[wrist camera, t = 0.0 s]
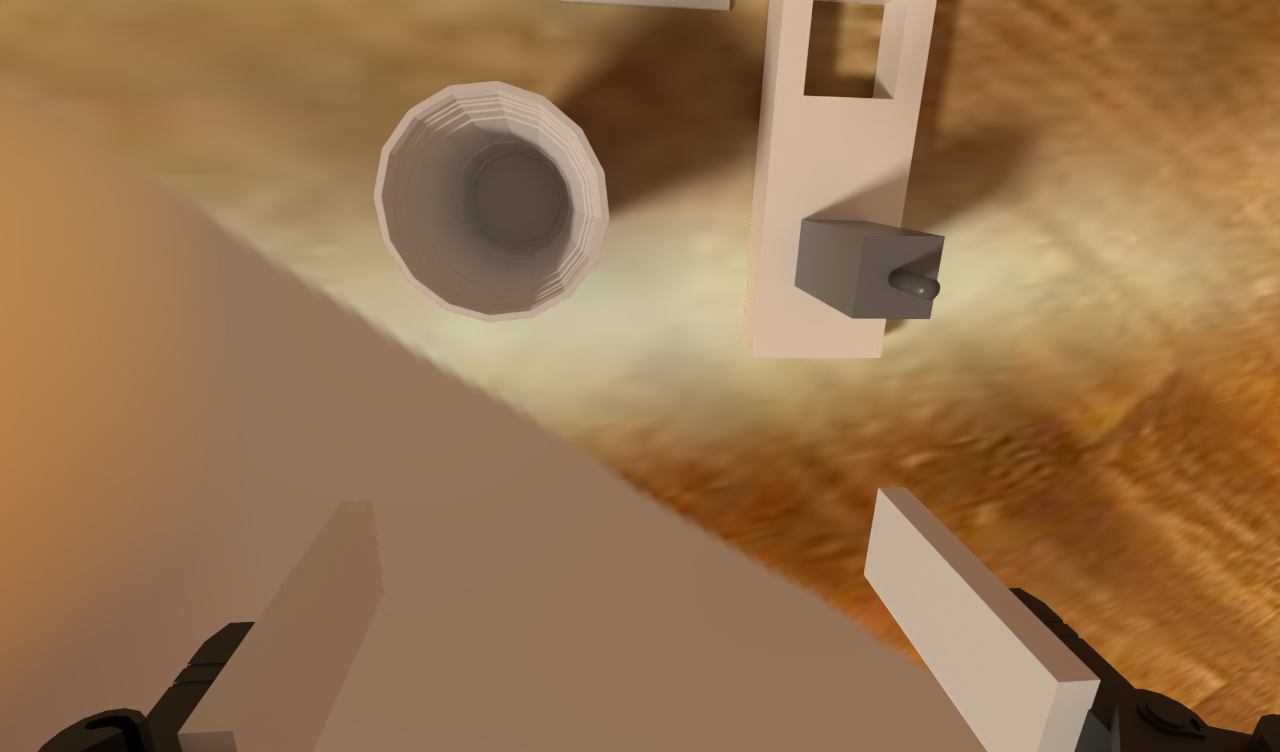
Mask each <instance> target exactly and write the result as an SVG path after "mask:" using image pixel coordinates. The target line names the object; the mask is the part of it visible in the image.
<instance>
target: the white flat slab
mask: <svg viewBox="0 0 1280 752" xmlns="http://www.w3.org/2000/svg"><path fill="white" fill-rule="evenodd" d="M561 2H565V3H584V4H602V5H621V6H639V7H658V8H677V9H695V10H714V11H728V10H729V6H730V0H561Z"/></svg>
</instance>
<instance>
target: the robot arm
mask: <svg viewBox="0 0 1280 752" xmlns="http://www.w3.org/2000/svg"><path fill="white" fill-rule="evenodd" d="M864 575H865V577H866V578H867V580H868V581H869V583H870V584H871V585H872V587H873V588H874V590H875V591H876V593H877V594H878V595H879V597H880V598H881V600H882V601H883V603H884V604H885V606H886V607H887V608H888V610H889V611H890V613H891V614H892V616H893V617H894V618H895V620H896V621H897V623H898V624H899V626H900V627H901V628H902V630H903V631H904V633H905V634H906V636H907V637H908V639H909V640H910V641H911V643H912V644H913V646H914V647H915V649H916V650H917V651H918V653H919V654H920V656H921V657H922V659H923V660H924V661H925V663H926V664H927V666H928V667H929V669H930V670H931V671H932V673H933V674H934V676H935V677H936V679H937V680H938V682H939V683H940V684H941V686H942V687H943V689H944V690H945V691H946V693H947V694H948V696H949V697H950V699H951V700H952V702H953V703H954V704H955V706H956V707H957V709H958V710H959V712H960V713H961V714H962V716H963V717H964V719H965V720H966V722H967V723H968V724H969V726H970V727H971V729H972V730H973V732H974V733H975V735H976V736H977V737H978V739H979V740H980V742H981V743H982V744H983V746H984V747H985V749H986V750H987V752H1280V715H1276V714H1270V715H1265V716H1261V718H1260V720H1259V722H1258V724H1257V726H1256V728H1255V730H1254V732H1253V735H1251V734H1246V733H1241V732H1236V731H1230V730H1225V729H1220V728H1215V727H1210V726H1208V725H1207V724H1206V723H1205V722H1204V721H1203V720H1202V719H1201V718H1200V717H1199V716H1198V715H1197V714H1196V713H1194V712H1193V711H1191V710H1190V709H1188V708H1187V707H1185V706H1184V705H1182V704H1181V703H1179V702H1177V701H1175V700H1173V699H1171V698H1169V697H1167V696H1165V695H1163V694H1160V693H1156V692H1152V691H1149V690H1145V689H1135V688H1134V687H1133V686H1132V685H1131V684H1130V683H1129V682H1128V681H1127V680H1126V679H1125V678H1124V677H1123V676H1121V675H1120V674H1119V673H1118V672H1117V671H1116V670H1115V669H1114V668H1113V667H1112V666H1111V665H1110V664H1109V663H1108V662H1107V661H1106V660H1104V659H1103V658H1102V657H1101V656H1100V655H1099V654H1098V653H1097V652H1096V651H1095V650H1094V649H1093V648H1092V647H1091V646H1090V645H1089V644H1087V643H1086V642H1085V641H1084V640H1083V639H1082V638H1080V639H1079V637H1078V634H1077V633H1076V632H1075V631H1074V630H1073V629H1072V628H1070V627H1069V626H1068V625H1067V624H1064V623H1063V620H1062V619H1061V618H1060V617H1059V616H1058V615H1057V614H1056V613H1055V612H1053V611H1052V610H1051V609H1050V608H1049V607H1048V606H1047V605H1046V604H1045V603H1044V602H1042V601H1040V600H1039V599H1037V598H1035V597H1034V596H1032V595H1030V594H1029V593H1027V592H1025V591H1024V590H1022V589H1020V588H1009V589H1008V588H1007V587H1006V586H1005V585H1004V584H1003V583H1002V582H1001V581H1000V580H999V579H998V578H997V577H996V576H995V575H994V574H993V573H992V572H991V571H990V570H989V569H988V568H987V567H986V566H985V565H984V564H983V563H982V562H981V561H980V560H979V559H978V558H977V557H976V556H975V555H974V554H973V553H972V552H971V551H970V550H969V549H967V548H966V547H965V546H964V545H963V544H962V543H961V542H960V541H959V540H958V539H957V538H956V537H955V536H954V535H953V534H952V533H951V532H950V531H949V530H948V529H947V528H946V527H945V526H944V525H943V524H942V523H941V522H940V521H939V520H938V519H937V518H936V517H935V516H934V515H933V514H932V513H931V512H930V511H929V510H928V509H927V508H926V507H925V506H924V505H923V504H922V503H921V502H920V501H919V500H918V499H917V498H916V497H915V496H914V495H913V494H912V493H911V492H910V491H909V490H908V489H907V488H906V487H902V488H878V494H877V500H876V506H875V512H874V518H873V523H872V529H871V535H870V541H869V547H868V553H867V559H866V565H865V571H864ZM383 594H384V588H383V579H382V572H381V564H380V557H379V548H378V540H377V532H376V524H375V517H374V509H373V501H372V500H371V501H370V500H369V501H340V503H339V504H338V505H337V507H336V508H335V509H334V511H333V512H332V514H331V515H330V517H329V518H328V519H327V521H326V522H325V524H324V525H323V527H322V528H321V529H320V531H319V532H318V534H317V535H316V537H315V538H314V539H313V541H312V542H311V544H310V545H309V547H308V548H307V550H306V551H305V552H304V554H303V555H302V557H301V558H300V560H299V561H298V562H297V564H296V565H295V567H294V568H293V569H292V571H291V572H290V574H289V575H288V577H287V578H286V579H285V581H284V582H283V584H282V585H281V587H280V588H279V589H278V591H277V592H276V594H275V595H274V597H273V598H272V599H271V601H270V602H269V604H268V605H267V606H266V608H265V609H264V611H263V612H262V614H261V615H260V616H259V618H258V619H257V621H256V622H240V623H229V624H228V625H227V626H225V627H224V628H223V629H221V630H220V631H219V632H217V633H216V634H215V635H213V636H212V637H211V638H210V639H208V640H207V641H205V642H204V643H203V645H202V646H201V647H200V648H199V650H198V651H197V652H196V654H195V655H194V656H193V657H192V659H191V660H190V661H189V663H188V664H187V668H185V669H183V670H182V672H181V673H180V674H179V675H178V677H177V678H176V679H175V681H174V682H173V686H172V687H169V688H168V690H167V691H166V692H165V693H164V695H163V696H162V697H161V699H160V700H159V701H158V702H157V704H156V705H155V706H154V708H153V709H152V710H151V711H150V713H149V714H148V715H147V717H145V716H144V715H143V714H142V713H141V712H140V711H137V710H132V709H127V708H124V709H116V710H108V711H104V712H101V713H98V714H95V715H93V716H90V717H87V718H84V719H82V720H80V721H78V722H77V723H75V724H73V725H71V726H70V727H68V728H66V729H64V730H62V731H61V732H59V733H58V734H57V735H56V736H54V737H53V738H52V739H51V740H49V741H48V742H47V743H46V744H44V745H43V746H42V747H41V749H40V750H39V751H38V752H313V751H314V748H315V746H316V744H317V742H318V739H319V737H320V735H321V733H322V730H323V728H324V726H325V724H326V721H327V719H328V717H329V715H330V713H331V710H332V708H333V706H334V704H335V701H336V699H337V697H338V695H339V693H340V690H341V688H342V686H343V684H344V681H345V679H346V677H347V675H348V672H349V670H350V668H351V666H352V664H353V661H354V659H355V657H356V655H357V653H358V650H359V648H360V646H361V644H362V641H363V639H364V637H365V635H366V632H367V630H368V628H369V626H370V624H371V621H372V619H373V617H374V615H375V612H376V610H377V608H378V606H379V604H380V601H381V599H382V597H383Z"/></svg>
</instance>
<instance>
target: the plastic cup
mask: <svg viewBox="0 0 1280 752" xmlns="http://www.w3.org/2000/svg"><path fill="white" fill-rule="evenodd" d="M374 201H375V205H376V210H377V215H378V220H379V225H380V230H381V234H382V239H383V243H384V245H385V246H386V248H387V249H388V251H389V252H390V254H391V256H392V257H393V259H394V260H395V262H396V263H397V265H398V266H399V268H400V270H401V271H402V273H403V274H404V276H405V277H406V279H407V280H408V282H409V283H410V284H412V285H413V286H414V287H416V288H417V289H418V290H420V291H421V292H422V293H424V294H425V295H426V296H428V297H429V298H430V299H432V300H433V301H434V302H436V303H437V304H438V305H440V306H441V307H442V308H444V309H445V310H447V311H451V312H454V313H458V314H461V315H465V316H468V317H472V318H476V319H479V320H483V321H486V322H497V321H506V320H515V319H525V318H533V317H535V316H536V315H538V314H540V313H542V312H544V311H546V310H547V309H549V308H551V307H553V306H555V305H556V304H558V303H560V302H562V301H564V300H566V299H567V298H569V297H571V295H572V294H573V293H574V291H575V290H576V289H577V288H578V286H579V285H580V284H581V283H582V281H583V280H584V279H585V278H586V276H587V275H588V274H589V272H590V271H591V270H592V269H593V267H594V266H595V265H596V264H597V262H598V258H599V255H600V251H601V248H602V244H603V240H604V237H605V233H606V230H607V226H608V223H609V210H608V201H607V192H606V183H605V173H604V170H603V168H602V167H601V165H600V163H599V161H598V159H597V157H596V155H595V153H594V151H593V149H592V147H591V146H590V144H589V142H588V140H587V138H586V136H585V134H584V132H583V130H582V129H581V128H580V127H579V126H578V125H577V124H576V123H575V122H573V121H572V120H571V119H570V118H569V117H568V116H566V115H565V114H564V113H563V112H562V111H561V110H559V109H558V108H557V107H556V106H555V105H554V104H552V103H551V102H550V101H549V100H548V99H547V98H545V97H544V96H542V95H539V94H536V93H533V92H530V91H527V90H523V89H520V88H517V87H514V86H511V85H508V84H505V83H502V82H499V81H491V82H481V83H471V84H461V85H451V86H448V87H446V88H445V89H443V90H441V91H440V92H438V93H436V94H435V95H433V96H431V97H430V98H428V99H426V100H425V101H423V102H421V103H419V104H418V105H416V106H414V107H413V108H411V109H409V110H408V112H407V113H406V115H405V116H404V118H403V119H402V121H401V122H400V123H399V125H398V126H397V128H396V129H395V131H394V132H393V134H392V135H391V137H390V138H389V140H388V141H387V143H386V144H385V145H384V147H383V148H382V153H381V158H380V163H379V169H378V174H377V179H376V185H375V190H374Z"/></svg>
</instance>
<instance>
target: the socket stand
mask: <svg viewBox="0 0 1280 752" xmlns="http://www.w3.org/2000/svg"><path fill="white" fill-rule="evenodd" d="M813 1H825V2H843V3H861V4H878V5H885V8H884V15H883V23H882V30H881V38H880V45H879V52H878V60H877V67H876V75H875V82H874V90H873V97H872V98H849V97H824V96H803V94H804V84H805V74H806V65H807V55H808V45H809V35H810V25H811V16H812V6H813ZM936 2H937V0H769V8H768V21H767V33H766V45H765V57H764V69H763V81H762V94H761V106H760V118H759V130H758V142H757V154H756V167H755V179H754V191H753V203H752V215H751V228H750V240H749V252H748V264H747V276H746V288H745V301H744V313H743V325H742V337H741V347H742V348H743V349H744V350H745V351H746V352H747V353H748V354H749V356H750V357H751V358H880V356H881V349H882V343H883V337H884V330H885V324H886V319H930V316H931V310H932V305H933V299H934V298H935V297H936V296H937V295H938V294H939V291H940V284H939V282H938V281H937V277H938V272H939V266H940V261H941V255H942V249H943V244H944V238H945V237H944V236H939V235H934V234H929V233H924V232H919V231H914V230H909V229H904V228H901V223H902V217H903V210H904V204H905V198H906V192H907V185H908V179H909V173H910V166H911V160H912V154H913V147H914V141H915V135H916V128H917V122H918V116H919V109H920V103H921V97H922V90H923V84H924V78H925V72H926V65H927V59H928V53H929V46H930V40H931V34H932V27H933V21H934V15H935V8H936Z"/></svg>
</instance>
